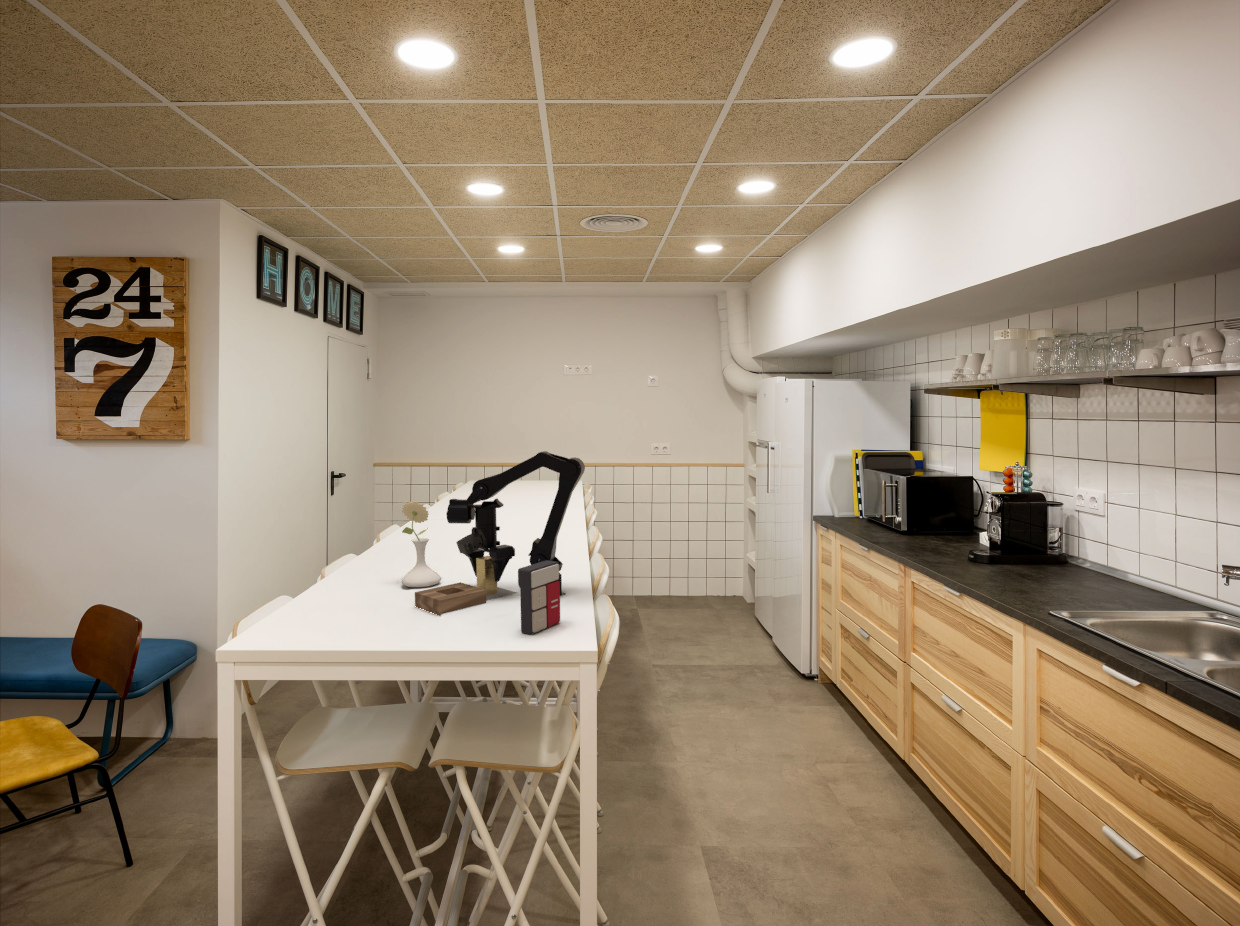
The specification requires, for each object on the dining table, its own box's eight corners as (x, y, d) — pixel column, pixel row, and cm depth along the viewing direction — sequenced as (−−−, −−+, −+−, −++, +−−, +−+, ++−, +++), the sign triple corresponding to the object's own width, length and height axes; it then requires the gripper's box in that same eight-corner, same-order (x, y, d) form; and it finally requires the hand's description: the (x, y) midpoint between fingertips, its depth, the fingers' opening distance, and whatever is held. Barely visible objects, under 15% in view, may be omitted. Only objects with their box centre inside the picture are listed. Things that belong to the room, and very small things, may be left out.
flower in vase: (449, 584, 204) (447, 500, 203) (419, 592, 195) (417, 505, 193) (419, 578, 211) (417, 498, 210) (389, 586, 202) (386, 502, 200)
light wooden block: (497, 592, 192) (496, 557, 191) (485, 595, 189) (484, 559, 188) (488, 590, 195) (488, 555, 194) (477, 593, 192) (476, 557, 191)
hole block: (486, 604, 182) (486, 589, 182) (440, 616, 172) (439, 600, 172) (460, 596, 190) (460, 582, 190) (415, 607, 180) (414, 592, 180)
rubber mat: (517, 594, 192) (517, 592, 192) (482, 603, 183) (481, 601, 183) (492, 587, 200) (492, 585, 200) (456, 595, 192) (456, 593, 191)
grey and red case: (533, 635, 156) (532, 570, 155) (518, 632, 158) (517, 568, 157) (562, 623, 165) (561, 561, 164) (548, 620, 168) (547, 559, 167)
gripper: (442, 523, 191) (443, 578, 192) (481, 531, 178) (482, 590, 179) (475, 518, 199) (477, 571, 200) (515, 525, 186) (516, 582, 187)
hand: (487, 578), depth 191 cm, fingers open, 9 cm apart
